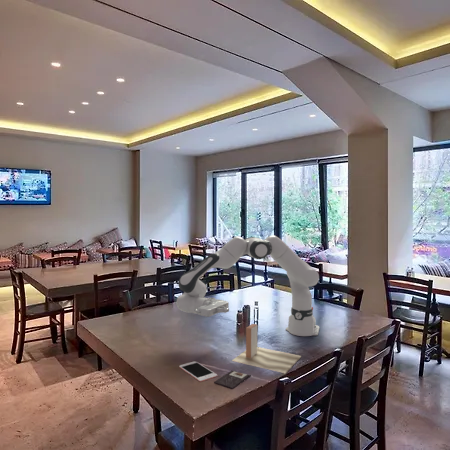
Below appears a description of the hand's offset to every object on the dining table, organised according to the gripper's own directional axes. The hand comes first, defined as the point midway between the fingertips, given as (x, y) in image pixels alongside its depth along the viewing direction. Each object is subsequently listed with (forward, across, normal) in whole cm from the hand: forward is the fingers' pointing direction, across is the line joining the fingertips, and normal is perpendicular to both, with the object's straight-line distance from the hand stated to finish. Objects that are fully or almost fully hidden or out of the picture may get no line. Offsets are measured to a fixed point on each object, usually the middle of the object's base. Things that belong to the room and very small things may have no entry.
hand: (227, 310), depth 181 cm
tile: (+13, 0, +20) cm, 24 cm away
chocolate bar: (+17, -24, +21) cm, 36 cm away
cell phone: (0, -27, +21) cm, 34 cm away
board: (+21, 0, +20) cm, 29 cm away
